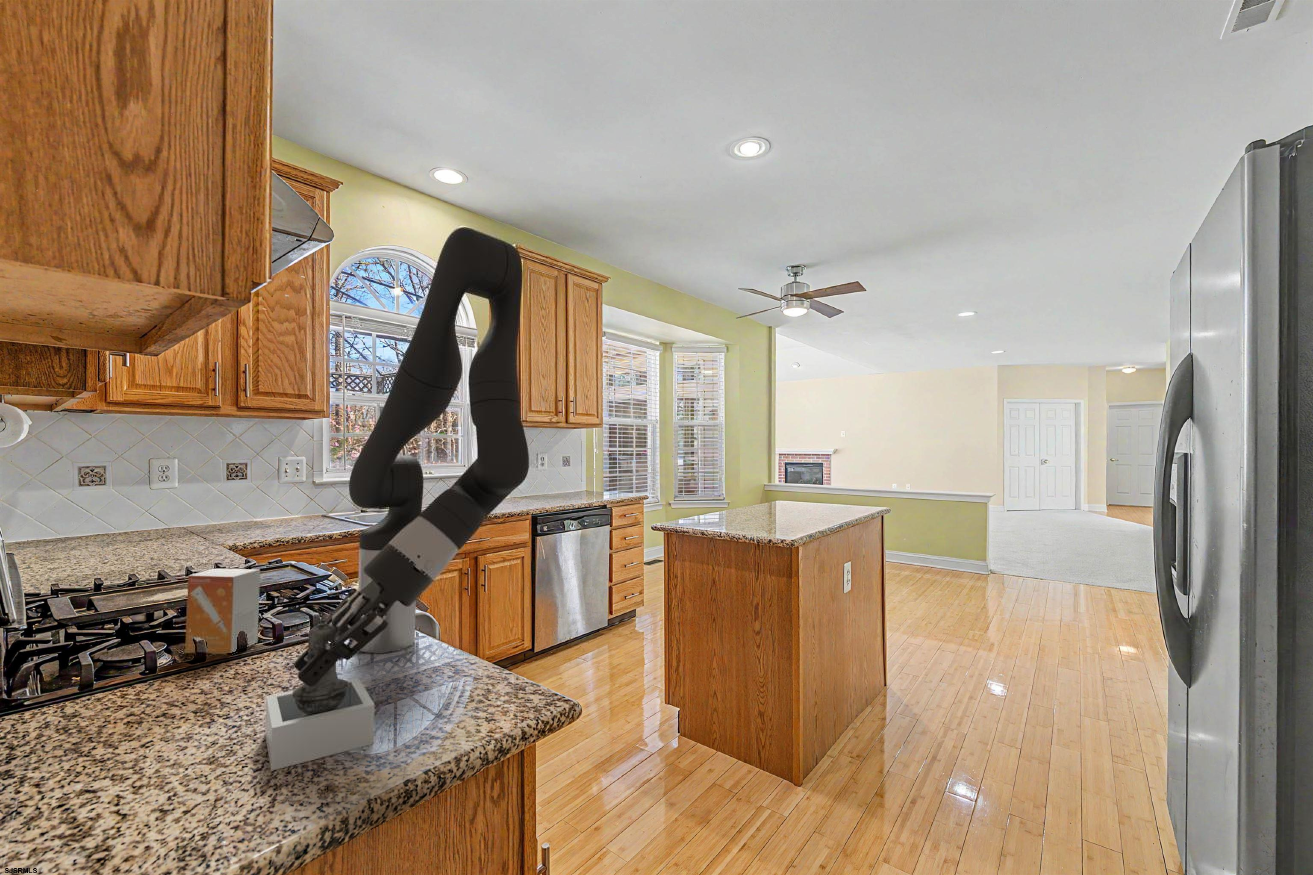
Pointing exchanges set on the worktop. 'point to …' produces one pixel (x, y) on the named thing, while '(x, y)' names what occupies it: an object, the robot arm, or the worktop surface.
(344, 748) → the sleeve
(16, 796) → the worktop surface
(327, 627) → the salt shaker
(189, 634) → the small box
